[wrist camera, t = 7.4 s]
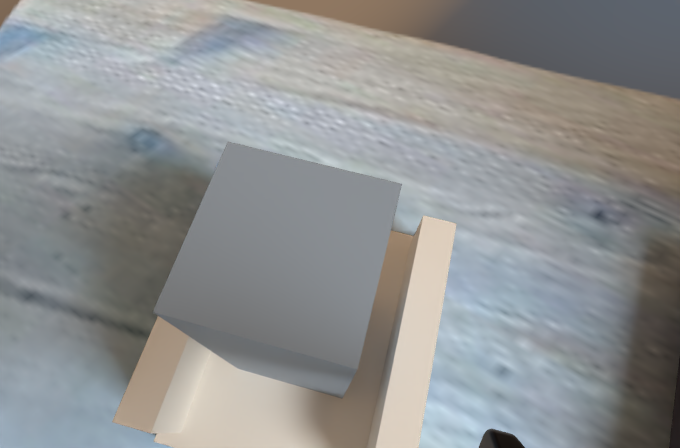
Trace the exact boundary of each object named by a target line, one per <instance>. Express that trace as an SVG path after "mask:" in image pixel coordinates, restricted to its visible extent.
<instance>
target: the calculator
mask: <svg viewBox="0 0 680 448" xmlns="http://www.w3.org/2000/svg"><path fill="white" fill-rule="evenodd" d="M669 448H680V358H679V367H678V376H677V385H676V393H675V402H674V411H673V420H672V428H671V437H670V446H669Z"/></svg>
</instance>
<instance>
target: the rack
mask: <svg viewBox="0 0 680 448" xmlns="http://www.w3.org/2000/svg"><path fill="white" fill-rule="evenodd" d="M455 229H456V223H452V222H448V221H444V220H440V219H436V218H432V217H427V216H423V217H422V220H421V222H420V224H419V226H418V228H417V231H416V233H415V235H414V236H412V235H408V234H404V233H400V232H396V231H391V232H390V236H389V240H388V244H387V249H386V253H385V257H384V261H383V265H382V270H381V274H380V278H379V282H378V286H377V290H376V295H375V299H374V303H373V307H372V311H371V316H370V320H369V324H368V328H367V332H366V336H365V341H364V345H363V349H362V353H361V357H360V362H359V366H358V370H357V372H356V373H355V375H354V377H353V379H352V381H351V383H350V385H349V387H348V389H347V390H346V392H345V394H344V396H343V398H338V397H335V396H331V395H328V394H324V393H321V392H317V391H314V390H310V389H307V388H303V387H300V386H296V385H293V384H289V383H286V382H282V381H279V380H275V379H272V378H268V377H265V376H261V375H258V374H254V373H251V372H247V371H244V370H240V369H237V368H236V367H234V366H233V365H231V364H230V363H228V362H227V361H225V360H224V359H222V358H221V357H219V356H218V355H216V354H215V353H213V352H212V351H210V350H209V349H207V348H206V347H204V346H203V345H201V344H200V343H198V342H197V341H195V340H194V339H192V338H191V337H189V336H188V335H186V334H185V333H183V332H182V331H180V330H179V329H177V328H176V327H174V326H173V325H171V324H170V323H168V322H167V321H165V320H164V319H162V318H161V317H159V316H158V317H157V319H156V322H155V324H154V326H153V329H152V331H151V333H150V336H149V338H148V340H147V343H146V345H145V347H144V350H143V352H142V354H141V356H140V359H139V361H138V363H137V366H136V368H135V370H134V373H133V375H132V377H131V380H130V382H129V384H128V387H127V389H126V391H125V393H124V396H123V398H122V400H121V403H120V405H119V407H118V410H117V412H116V414H115V417H114V419H113V421H112V422H114V423H117V424H121V425H124V426H127V427H131V428H134V429H137V430H141V431H144V432H147V433H157V434H156V437H155V439H154V442H157V443H161V444H164V445H167V446H171V447H174V448H418V447H419V441H420V435H421V429H422V423H423V417H424V411H425V406H426V400H427V394H428V388H429V382H430V376H431V370H432V364H433V359H434V353H435V347H436V341H437V335H438V329H439V323H440V317H441V312H442V306H443V300H444V294H445V288H446V282H447V276H448V270H449V265H450V259H451V253H452V247H453V241H454V235H455Z"/></svg>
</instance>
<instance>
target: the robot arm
mask: <svg viewBox="0 0 680 448" xmlns="http://www.w3.org/2000/svg"><path fill="white" fill-rule="evenodd" d="M479 448H525V447H524V446H523V445H522V444H521V442H520V441H519V440H518V439H517V438H516V437H515V436H514V435H512V434H510V433H506V432H502V431H499V430H495V429H489V430H487V431H486V432H485V434H484V436H483V438H482V441H481V443H480V446H479Z"/></svg>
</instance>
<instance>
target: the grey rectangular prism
mask: <svg viewBox="0 0 680 448" xmlns="http://www.w3.org/2000/svg"><path fill="white" fill-rule="evenodd" d="M401 186H402V184H400V183H396V182H392V181H388V180H384V179H379V178H375V177H371V176H367V175H363V174H359V173H355V172H351V171H347V170H342V169H338V168H334V167H330V166H326V165H322V164H318V163H314V162H309V161H305V160H301V159H297V158H293V157H289V156H285V155H281V154H277V153H272V152H268V151H264V150H260V149H256V148H252V147H248V146H244V145H240V144H235V143H231V142H228V143H227V145H226V147H225V149H224V152H223V154H222V156H221V159H220V161H219V163H218V165H217V168H216V170H215V172H214V174H213V177H212V179H211V181H210V183H209V186H208V188H207V190H206V192H205V195H204V197H203V199H202V201H201V204H200V206H199V208H198V210H197V213H196V215H195V217H194V219H193V222H192V224H191V226H190V229H189V231H188V233H187V235H186V238H185V240H184V242H183V244H182V247H181V249H180V251H179V253H178V256H177V258H176V260H175V262H174V265H173V267H172V269H171V271H170V274H169V276H168V278H167V280H166V283H165V285H164V287H163V289H162V292H161V294H160V296H159V299H158V301H157V303H156V305H155V308H154V310H153V313H155V314H156V315H158V316H159V317H161V318H162V319H164V320H165V321H167V322H168V323H170V324H171V325H173V326H174V327H176V328H177V329H179V330H180V331H182V332H183V333H185V334H186V335H188V336H189V337H191V338H192V339H194V340H195V341H197V342H198V343H200V344H201V345H203V346H204V347H206V348H207V349H209V350H210V351H212V352H213V353H215V354H216V355H218V356H219V357H221V358H222V359H224V360H225V361H227V362H228V363H230V364H231V365H233V366H234V367H236V368H237V369H240V370H244V371H247V372H251V373H254V374H258V375H261V376H265V377H268V378H272V379H275V380H279V381H282V382H286V383H289V384H293V385H296V386H300V387H303V388H307V389H310V390H314V391H317V392H321V393H324V394H328V395H331V396H335V397H338V398H343V396H344V394H345V392H346V390H347V389H348V387H349V385H350V383H351V381H352V379H353V377H354V375H355V373H356V372H357V370H358V366H359V362H360V357H361V353H362V349H363V345H364V341H365V336H366V332H367V328H368V324H369V320H370V316H371V311H372V307H373V303H374V299H375V295H376V290H377V286H378V282H379V278H380V274H381V270H382V265H383V261H384V257H385V253H386V249H387V244H388V240H389V236H390V232H391V228H392V224H393V219H394V215H395V211H396V207H397V203H398V198H399V194H400V190H401Z"/></svg>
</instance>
